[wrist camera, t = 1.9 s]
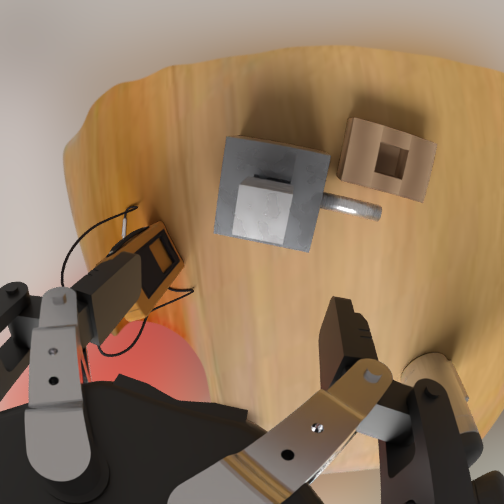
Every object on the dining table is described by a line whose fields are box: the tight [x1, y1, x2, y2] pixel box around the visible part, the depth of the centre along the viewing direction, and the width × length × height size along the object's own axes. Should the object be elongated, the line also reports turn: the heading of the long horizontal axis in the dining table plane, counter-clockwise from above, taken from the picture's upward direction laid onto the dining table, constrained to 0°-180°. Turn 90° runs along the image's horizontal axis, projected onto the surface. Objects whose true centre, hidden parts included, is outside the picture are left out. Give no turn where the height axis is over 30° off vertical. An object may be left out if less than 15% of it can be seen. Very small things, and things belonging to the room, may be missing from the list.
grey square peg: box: [232, 177, 294, 245], centre depth 28 cm, size 4×4×12 cm
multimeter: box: [61, 206, 194, 357], centre depth 33 cm, size 15×10×20 cm
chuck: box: [214, 135, 382, 252], centre depth 32 cm, size 17×10×7 cm, turn 81°
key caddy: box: [337, 117, 437, 203], centre depth 30 cm, size 10×7×4 cm
